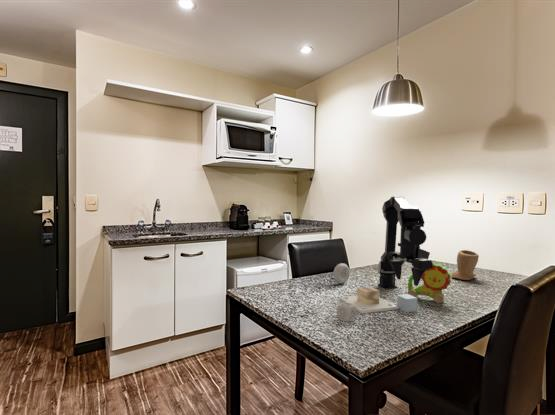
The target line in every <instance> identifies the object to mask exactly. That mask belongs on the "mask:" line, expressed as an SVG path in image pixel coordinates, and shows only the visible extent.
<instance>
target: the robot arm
mask: <svg viewBox="0 0 555 415" xmlns="http://www.w3.org/2000/svg"><path fill="white" fill-rule="evenodd" d="M381 211H382V214H383V218H384V220H385V221H386V225H385V226H386V228H385V243H384V244H385V245H384V252H383V253H382V255H381V256H380V261H379V263H378V266H377V273H378V274H379V279H378V280H379V283H377V286H379V287H382V288H384V289H394V288H398V286H397V285H396V278H397V280H401V278H402V270H403V269H402V268H403V265H404V263H409V264H411V266H412V267H411V268H410V269H411V275H413V281H412V282H413V285H414V287H418V286H419V284H420V282H421V280H422V279H421V277H422V275H423V273H424V272H425V271H426V270H429V269H430V268H433V263H434V261H432V260H431V259H429V258H430V255H431V254H430V253H431V252H430V251H427V250H424V249H422V248H421V246H422V245H423V244H424V243H425V242H426V241H427V234H426V232H425V231H424V230H423V229H421V228H424V226H425V220H424V217H423V214H422V211H421V210H420V208H418V207H416V206H411V205H410V204H409V203H408V202H407V201H406V200H405V196H401V195H400V196H399V195H397V196H396V195H392V196H391V197H390V198H388V200H385V201H384V202H383V204H382V210H381ZM398 223H399V226H400V238H399V239H400V241H399V242H397V232H398V231H397V229H398ZM396 245H397V247H399V251H396ZM420 245H421V246H420Z"/></svg>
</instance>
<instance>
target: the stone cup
mask: <svg viewBox="0 0 555 415" xmlns="http://www.w3.org/2000/svg"><path fill="white" fill-rule="evenodd" d="M479 257H480V256H479V253H477V252H475V251H472V250H470V249H469V250H468V249H461V250H459V251H458V253H457V256H456V264H457V270H456V271H455V272H452V273H450V275H451V277H452V278H455V279H458V280H464V281H470V280H472V279H475V277H476V276H477V273H475V272H474V270H475V268H476V266H477V264H478V262H479Z"/></svg>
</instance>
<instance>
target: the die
mask: <svg viewBox="0 0 555 415" xmlns="http://www.w3.org/2000/svg"><path fill="white" fill-rule="evenodd" d="M357 312H358V311H357V310H356V307H355V306H354V305H353V304H351V303H346V302H340V303H339V304H338V305H337V308H336V316H337V318H338V319H339V320H340V321H342V322H346V323H347V322H348V323H350V322H354V321H355V319H356V317H357Z"/></svg>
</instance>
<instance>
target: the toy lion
mask: <svg viewBox="0 0 555 415" xmlns="http://www.w3.org/2000/svg"><path fill="white" fill-rule="evenodd" d="M451 277H452V276H451V273H450V272H449V270H448V269H447V268H446V267H443V266H442V265H441V264H436V263H434V262H433V268H430V269H429V270H426V271H425V272H424V273H423V275H422V277H421V279H420V280H421V281H422V282H423V283H422V284H421V285H418V286H413V285H414V284H413V282H414V281H413V275H412V274H411V275H410V277H409V279H408V282H407V290H408V291H407V293H406V294H409V295H411V296H414V297H416V298H417V296H426V297H429V298H431V299H432V300H433V301H434V302H435V303H437V304H441V303H443V302H444V299H445V298H444V297H445V295H444V292H443V290H447V289H448V287H449V286H450V285H451V282H452V280H451Z"/></svg>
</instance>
